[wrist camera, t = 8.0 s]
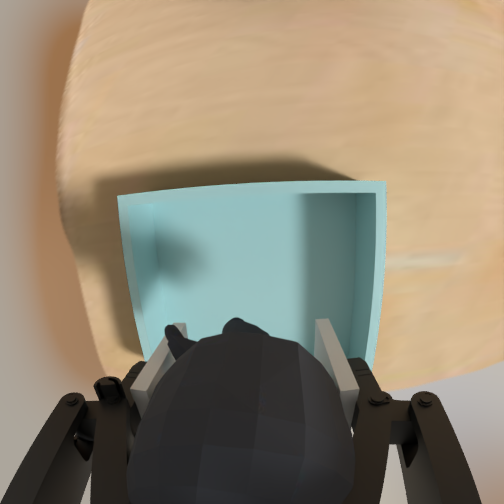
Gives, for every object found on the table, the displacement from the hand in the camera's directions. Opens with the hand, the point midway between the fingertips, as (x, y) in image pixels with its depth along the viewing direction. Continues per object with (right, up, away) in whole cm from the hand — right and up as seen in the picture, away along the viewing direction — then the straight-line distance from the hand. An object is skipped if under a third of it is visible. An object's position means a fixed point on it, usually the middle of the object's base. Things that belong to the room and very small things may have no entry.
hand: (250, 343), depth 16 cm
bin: (+1, +2, +9) cm, 9 cm away
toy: (0, 0, +2) cm, 2 cm away
